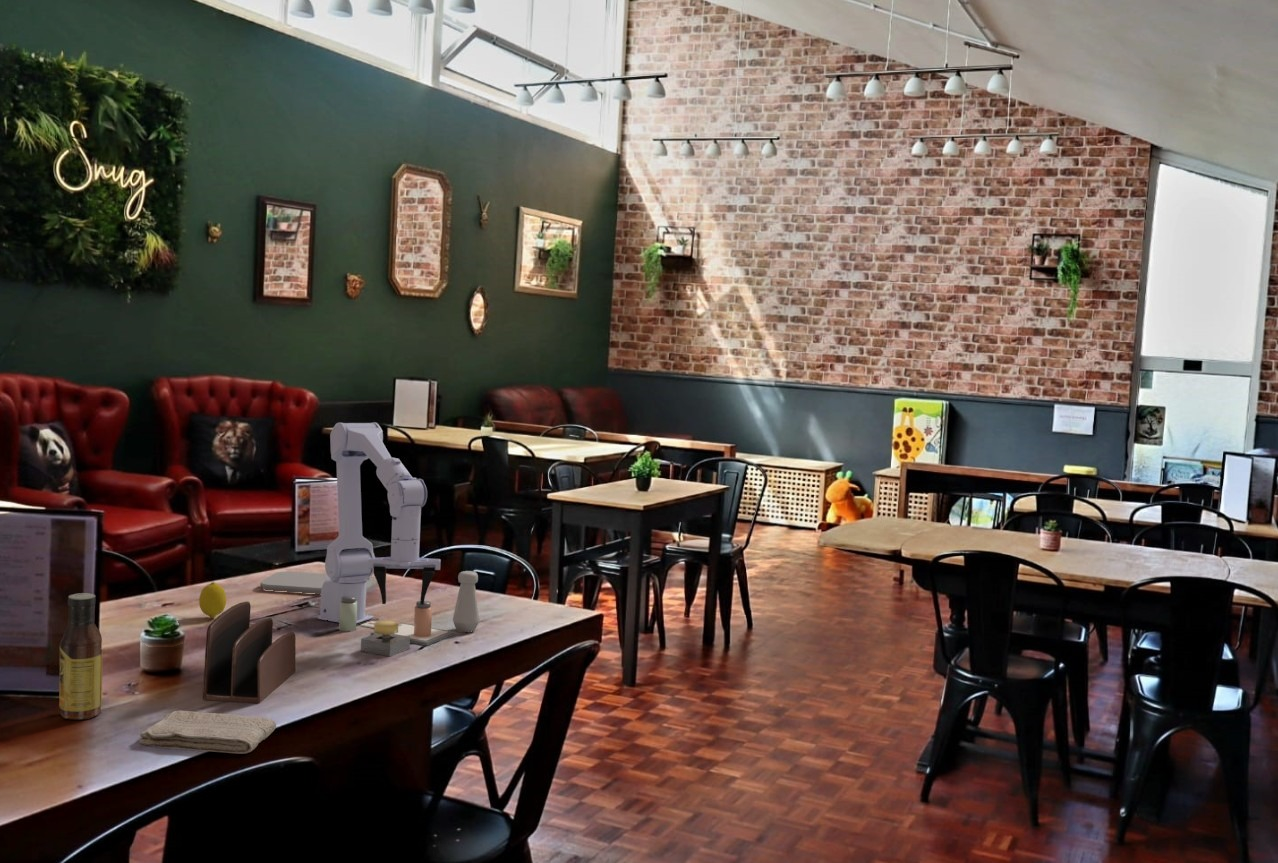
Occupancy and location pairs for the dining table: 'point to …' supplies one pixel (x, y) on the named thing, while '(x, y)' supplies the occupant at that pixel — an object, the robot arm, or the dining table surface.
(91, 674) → the sauce bottle
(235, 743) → the washcloth
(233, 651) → the letter holder
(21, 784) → the dining table surface
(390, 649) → the switch box
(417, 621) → the pepper shaker
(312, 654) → the dining table surface
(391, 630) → the button
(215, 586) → the lemon
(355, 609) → the green spice jar
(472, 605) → the salt shaker
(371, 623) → the card
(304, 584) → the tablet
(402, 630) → the clipboard
